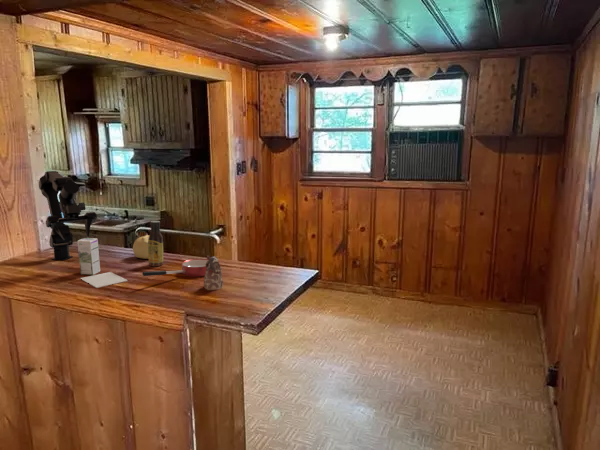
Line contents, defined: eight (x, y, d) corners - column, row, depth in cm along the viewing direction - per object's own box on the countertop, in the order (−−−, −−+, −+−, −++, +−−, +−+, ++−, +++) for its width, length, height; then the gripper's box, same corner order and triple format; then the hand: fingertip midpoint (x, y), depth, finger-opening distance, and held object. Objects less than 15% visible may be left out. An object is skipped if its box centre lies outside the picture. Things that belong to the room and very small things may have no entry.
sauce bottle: (145, 266, 191) (143, 221, 187) (155, 262, 196) (153, 219, 193) (157, 267, 188) (155, 222, 185) (167, 264, 194) (164, 220, 190)
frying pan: (160, 292, 157) (159, 276, 156) (137, 286, 164) (136, 270, 163) (220, 271, 184) (220, 257, 183) (198, 266, 191) (197, 252, 190)
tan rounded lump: (155, 260, 199) (154, 238, 197) (129, 260, 200) (128, 237, 198) (163, 254, 211) (162, 233, 209) (139, 254, 211) (137, 232, 209)
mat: (80, 278, 172) (80, 278, 172) (110, 272, 181) (110, 271, 181) (96, 288, 161) (96, 287, 161) (127, 281, 170) (127, 280, 170)
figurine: (214, 291, 159) (213, 259, 157) (200, 287, 163) (198, 257, 160) (227, 286, 165) (226, 255, 163) (213, 282, 169) (212, 253, 166)
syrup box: (100, 271, 182) (98, 237, 180) (93, 275, 177) (90, 240, 174) (88, 270, 183) (85, 237, 180) (79, 274, 177) (76, 240, 175)
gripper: (46, 197, 171) (54, 233, 168) (95, 194, 183) (104, 227, 180) (42, 209, 179) (50, 244, 176) (90, 205, 191) (98, 237, 188)
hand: (76, 238), depth 180 cm, fingers open, 9 cm apart
